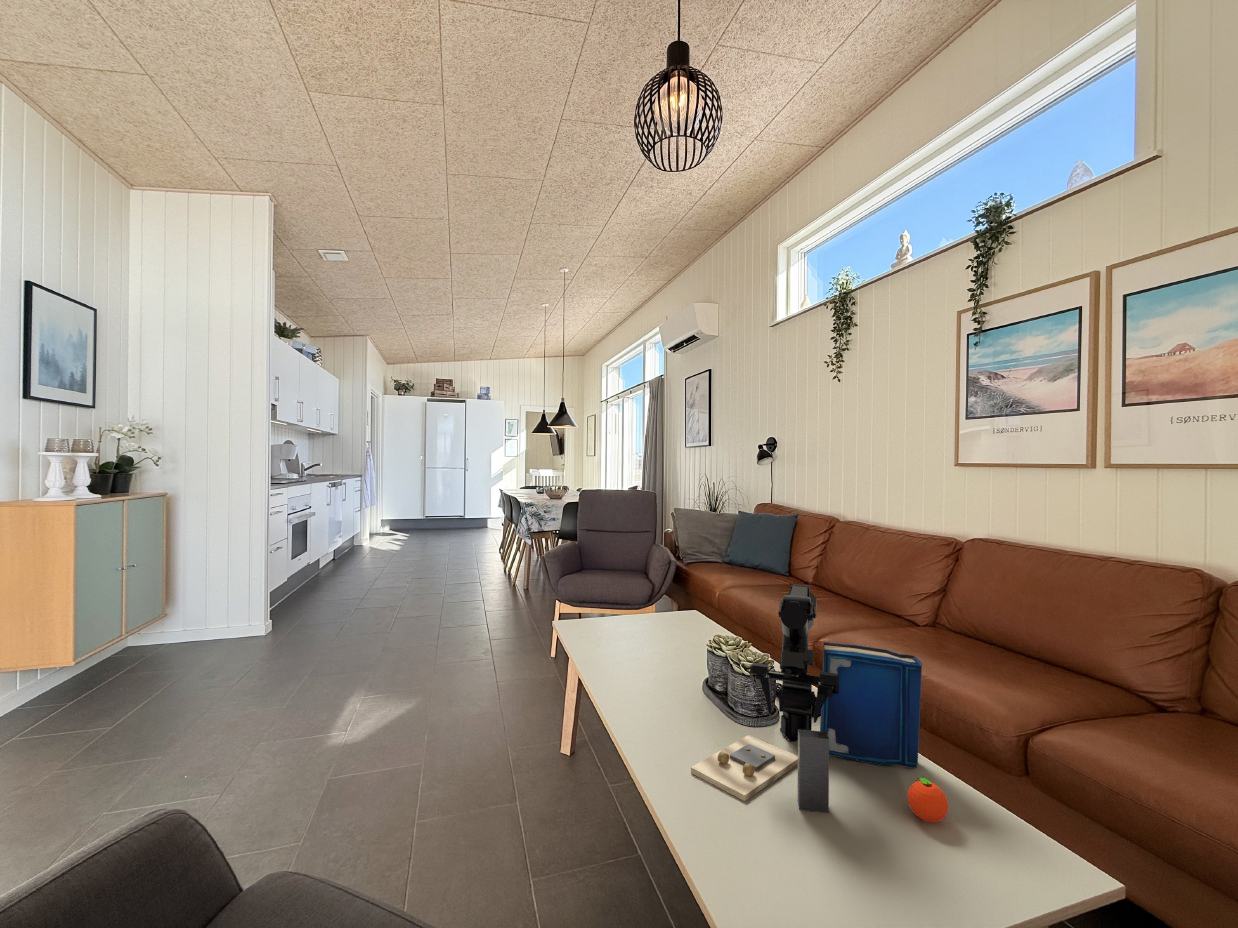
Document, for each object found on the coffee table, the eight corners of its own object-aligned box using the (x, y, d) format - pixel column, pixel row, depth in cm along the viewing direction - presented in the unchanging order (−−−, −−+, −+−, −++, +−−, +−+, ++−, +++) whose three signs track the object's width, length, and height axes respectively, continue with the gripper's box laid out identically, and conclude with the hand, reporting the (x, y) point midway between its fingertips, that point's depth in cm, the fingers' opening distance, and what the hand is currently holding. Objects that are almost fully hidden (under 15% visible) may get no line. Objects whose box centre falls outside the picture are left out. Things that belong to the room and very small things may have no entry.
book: (918, 758, 130) (919, 650, 130) (924, 773, 123) (925, 660, 123) (819, 742, 137) (820, 640, 137) (819, 756, 130) (820, 649, 130)
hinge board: (748, 739, 138) (748, 725, 138) (800, 762, 128) (800, 747, 128) (690, 772, 123) (690, 757, 123) (744, 801, 112) (744, 784, 113)
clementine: (898, 804, 112) (898, 768, 112) (933, 805, 112) (933, 769, 112) (918, 830, 104) (918, 791, 104) (956, 831, 104) (956, 792, 104)
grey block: (795, 790, 116) (796, 721, 116) (823, 794, 115) (824, 723, 115) (799, 809, 110) (799, 735, 110) (828, 813, 109) (829, 738, 109)
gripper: (750, 628, 126) (743, 699, 117) (839, 638, 120) (839, 713, 110) (754, 647, 134) (749, 715, 125) (838, 657, 128) (838, 730, 118)
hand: (792, 718), depth 119 cm, fingers open, 9 cm apart
